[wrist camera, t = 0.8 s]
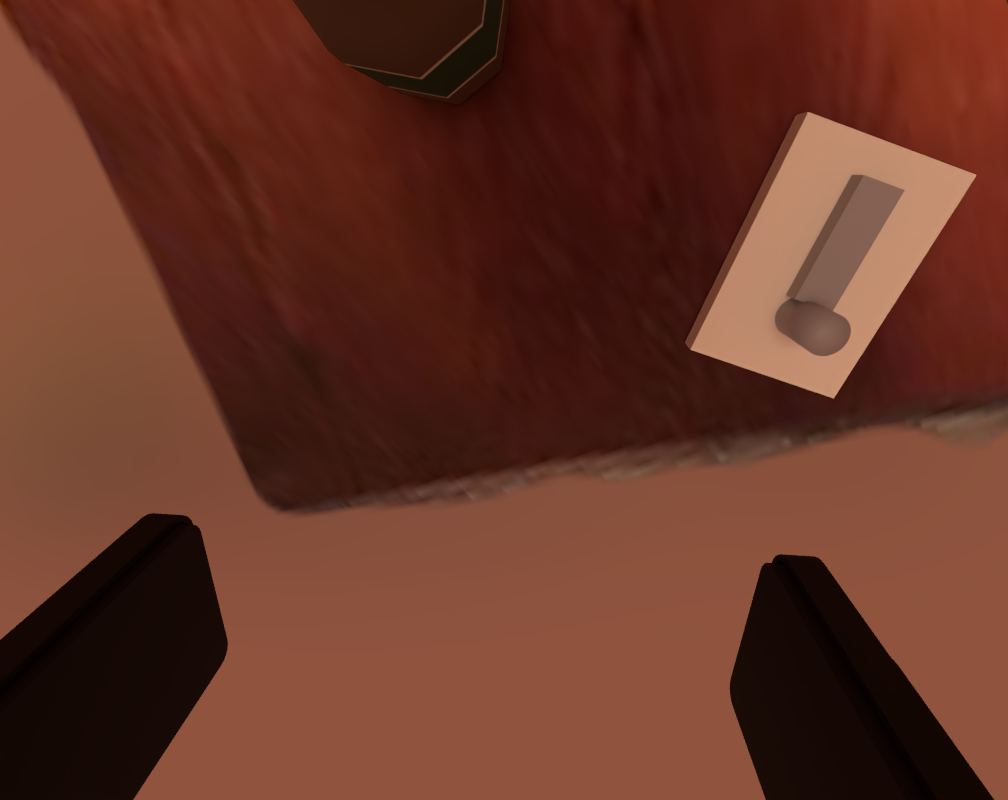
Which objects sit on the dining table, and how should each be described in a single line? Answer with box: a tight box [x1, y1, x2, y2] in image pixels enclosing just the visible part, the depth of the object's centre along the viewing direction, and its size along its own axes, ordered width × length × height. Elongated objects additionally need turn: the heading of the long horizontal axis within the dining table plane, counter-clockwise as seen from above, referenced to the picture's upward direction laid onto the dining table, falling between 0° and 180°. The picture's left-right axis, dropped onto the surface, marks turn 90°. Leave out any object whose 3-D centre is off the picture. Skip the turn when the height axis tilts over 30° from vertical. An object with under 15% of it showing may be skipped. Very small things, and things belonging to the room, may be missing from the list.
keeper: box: [685, 112, 976, 398], centre depth 30 cm, size 14×10×6 cm
